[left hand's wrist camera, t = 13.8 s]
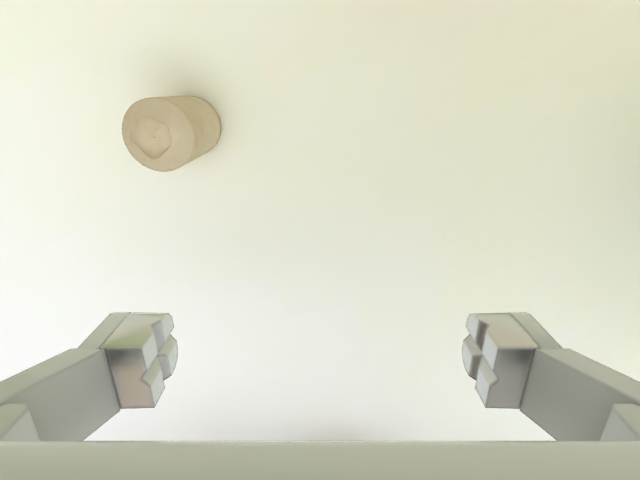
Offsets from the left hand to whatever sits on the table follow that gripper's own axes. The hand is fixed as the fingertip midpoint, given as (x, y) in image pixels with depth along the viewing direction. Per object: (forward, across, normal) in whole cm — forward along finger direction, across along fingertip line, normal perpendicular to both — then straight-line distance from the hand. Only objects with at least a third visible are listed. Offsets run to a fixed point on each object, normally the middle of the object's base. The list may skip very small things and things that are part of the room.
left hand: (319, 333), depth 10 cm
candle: (+30, -12, +3) cm, 32 cm away
